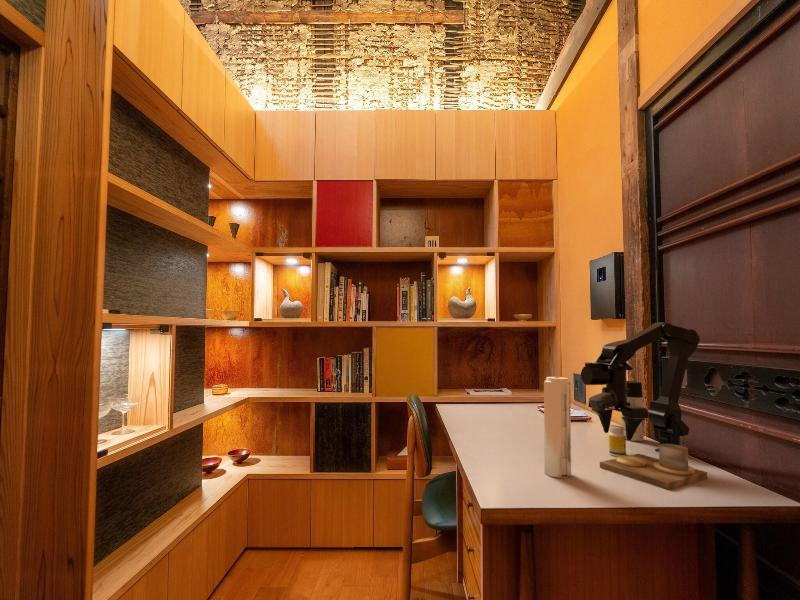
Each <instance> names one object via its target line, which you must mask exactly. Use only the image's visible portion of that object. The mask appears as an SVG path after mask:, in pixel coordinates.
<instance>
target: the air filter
mask: <svg viewBox="0 0 800 600" xmlns="http://www.w3.org/2000/svg"><path fill="white" fill-rule="evenodd" d="M543 409H544V411H543V415H544V416H543V418H544V419H543V427H544V428H543V429H544V431H543V432H544V433H543V435H544V438H543V439H544V441H543V442H544V443H543V445H544V448H543V449H544V452H543V453H544V460H543V462H544V474H545V475H547V476H548V477H552V478H556V479H568V478H571V477H572V451H571V450H572V435H571V434H572V433H571V431H572V429H571V427H572V426H571V422H572V421H571V416H572V415H571V381H570V378H569V377H565V376H564V377H563V376H562V377H561V376H546V378H545V379H544V380H543Z"/></svg>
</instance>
